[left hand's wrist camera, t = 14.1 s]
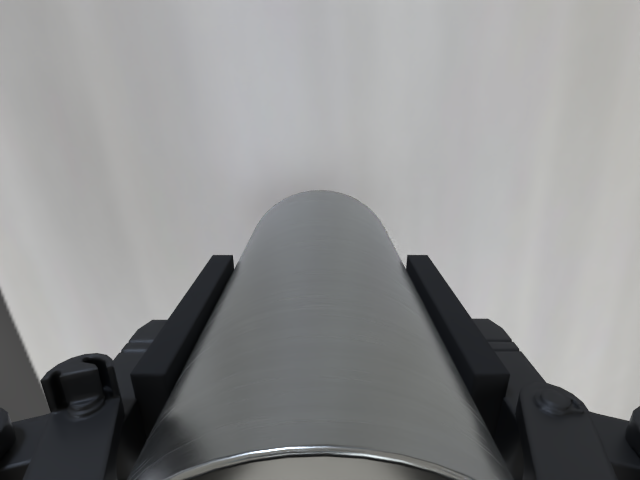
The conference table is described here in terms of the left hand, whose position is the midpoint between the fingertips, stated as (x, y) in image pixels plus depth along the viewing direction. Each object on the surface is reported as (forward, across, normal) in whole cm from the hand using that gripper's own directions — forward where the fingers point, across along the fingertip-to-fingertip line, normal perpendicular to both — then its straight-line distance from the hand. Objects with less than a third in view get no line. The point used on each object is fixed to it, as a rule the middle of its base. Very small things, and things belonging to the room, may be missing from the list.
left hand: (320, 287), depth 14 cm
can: (+3, 0, 0) cm, 3 cm away
